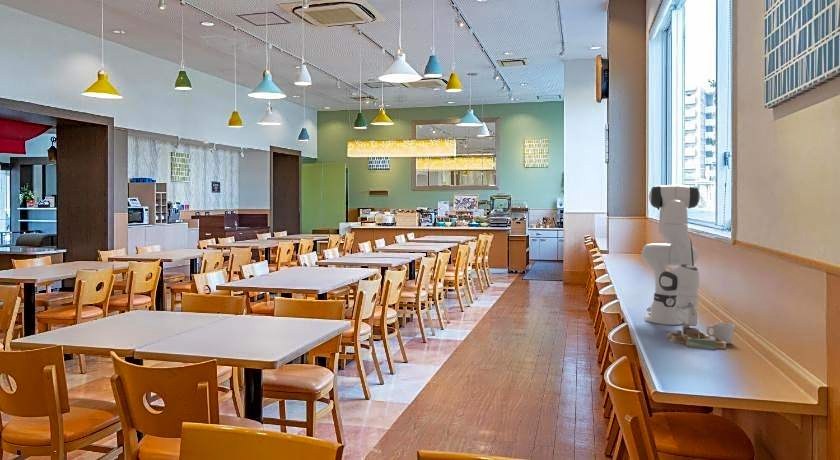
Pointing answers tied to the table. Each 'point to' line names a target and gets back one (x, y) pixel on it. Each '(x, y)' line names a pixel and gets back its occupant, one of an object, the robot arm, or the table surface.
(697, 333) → the block
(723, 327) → the cup
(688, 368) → the table surface
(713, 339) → the wooden flat frame
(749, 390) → the table surface
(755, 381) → the table surface
